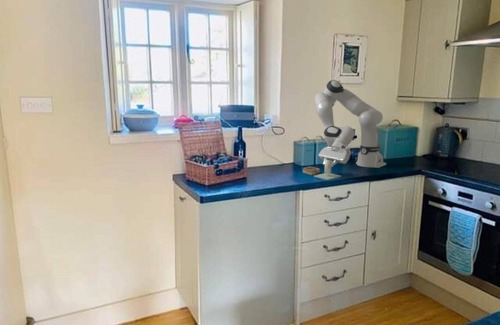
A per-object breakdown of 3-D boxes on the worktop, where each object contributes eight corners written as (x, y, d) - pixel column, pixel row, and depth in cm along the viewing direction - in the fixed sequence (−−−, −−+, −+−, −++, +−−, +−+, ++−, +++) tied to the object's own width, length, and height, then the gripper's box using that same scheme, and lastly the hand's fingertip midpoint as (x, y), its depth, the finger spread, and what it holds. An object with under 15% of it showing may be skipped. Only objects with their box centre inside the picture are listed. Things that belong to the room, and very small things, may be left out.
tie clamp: (308, 170, 246) (308, 166, 245) (319, 173, 239) (319, 168, 238) (300, 172, 241) (301, 167, 240) (311, 174, 234) (311, 170, 234)
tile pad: (327, 173, 238) (327, 172, 238) (341, 176, 230) (341, 175, 230) (313, 176, 230) (313, 175, 230) (328, 180, 222) (328, 179, 222)
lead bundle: (327, 172, 232) (327, 158, 230) (332, 173, 229) (333, 159, 227) (323, 173, 230) (323, 158, 228) (328, 174, 227) (328, 159, 225)
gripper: (323, 143, 238) (312, 159, 234) (349, 147, 223) (338, 165, 219) (327, 149, 242) (316, 165, 238) (353, 153, 227) (342, 171, 223)
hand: (327, 165), depth 228 cm, fingers closed on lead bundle, 4 cm apart
